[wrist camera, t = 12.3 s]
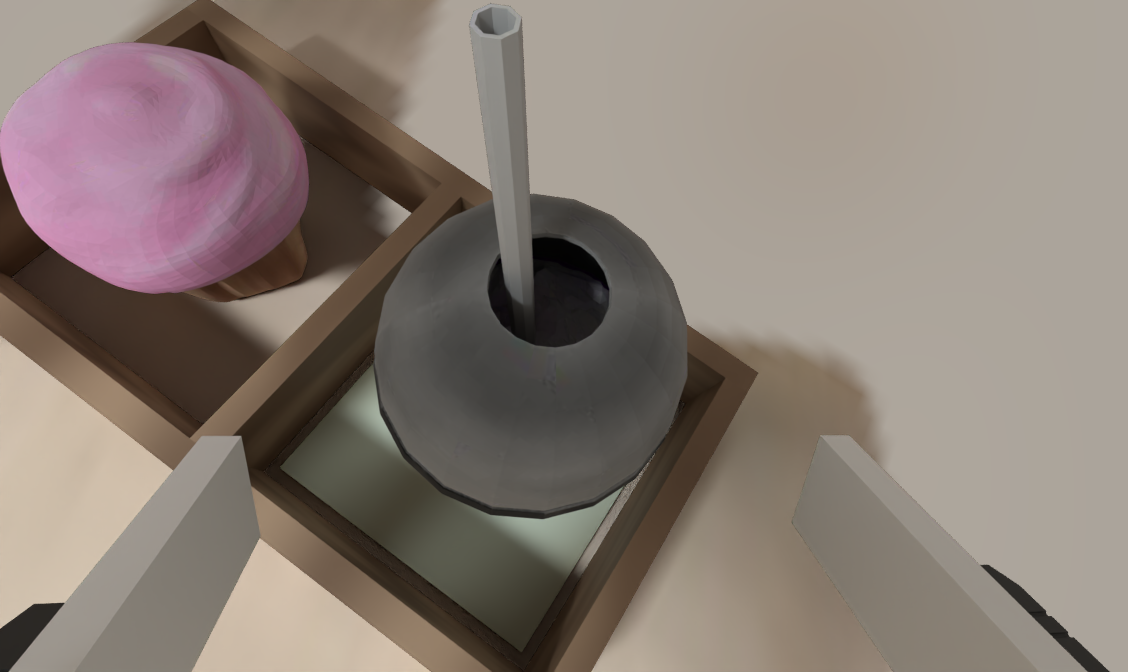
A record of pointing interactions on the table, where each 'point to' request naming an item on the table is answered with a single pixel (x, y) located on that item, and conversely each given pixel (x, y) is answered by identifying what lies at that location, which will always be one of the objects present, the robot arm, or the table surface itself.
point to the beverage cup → (527, 331)
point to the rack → (356, 429)
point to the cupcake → (160, 172)
